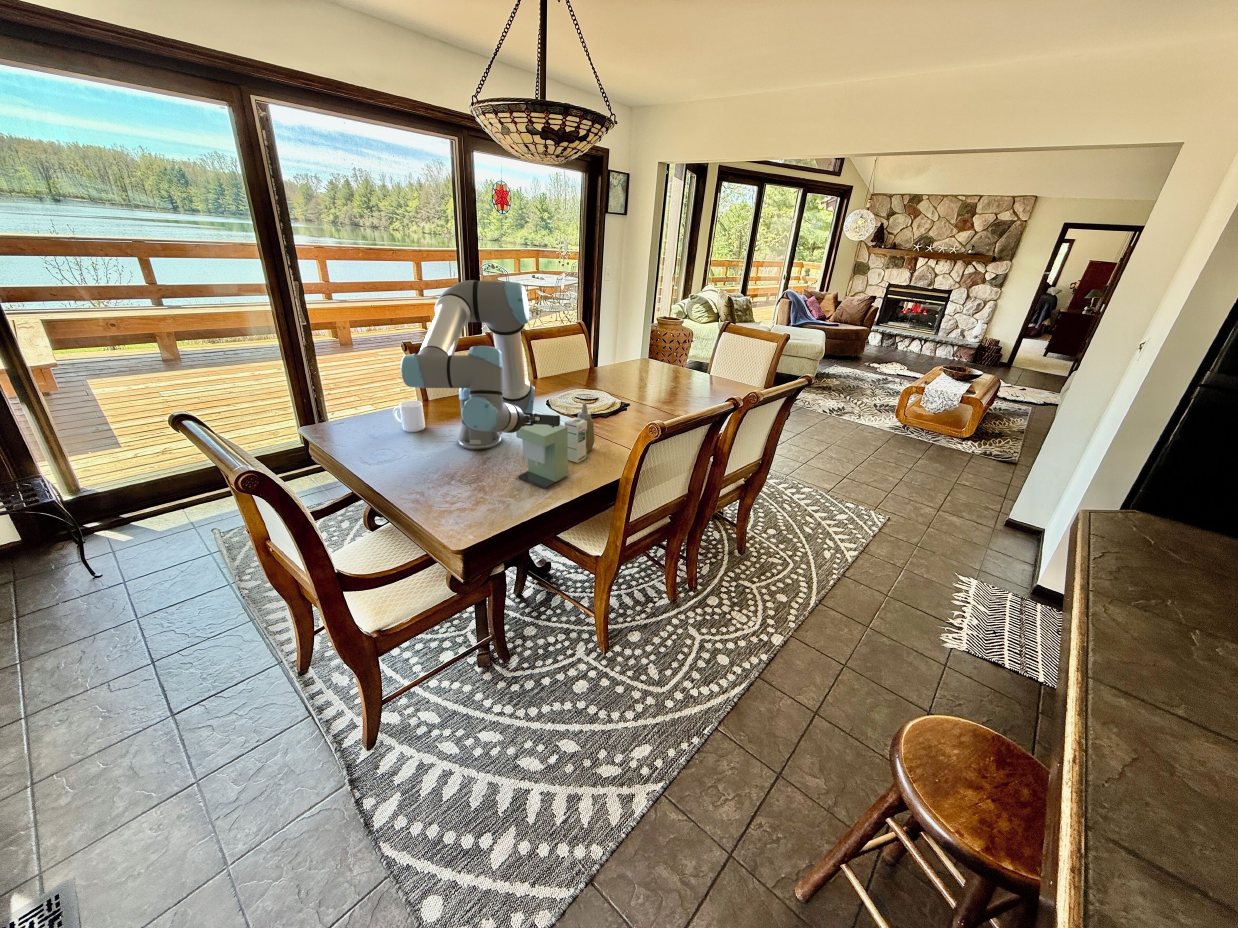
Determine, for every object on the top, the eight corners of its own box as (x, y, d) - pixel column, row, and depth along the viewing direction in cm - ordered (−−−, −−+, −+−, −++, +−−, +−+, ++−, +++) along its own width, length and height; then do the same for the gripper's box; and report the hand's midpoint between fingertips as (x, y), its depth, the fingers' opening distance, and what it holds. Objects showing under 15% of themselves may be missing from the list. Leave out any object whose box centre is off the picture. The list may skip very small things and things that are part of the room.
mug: (389, 430, 187) (385, 405, 183) (400, 423, 194) (396, 399, 190) (419, 433, 186) (415, 408, 182) (429, 425, 194) (425, 401, 189)
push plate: (543, 464, 148) (543, 446, 146) (522, 456, 153) (522, 438, 150) (545, 463, 149) (545, 445, 146) (524, 455, 153) (524, 438, 151)
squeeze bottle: (591, 455, 175) (592, 408, 167) (570, 452, 176) (570, 405, 169) (596, 446, 182) (598, 401, 175) (576, 444, 184) (576, 399, 176)
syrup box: (577, 463, 168) (578, 424, 162) (564, 459, 171) (564, 420, 165) (587, 458, 173) (587, 420, 166) (574, 453, 175) (574, 416, 169)
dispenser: (545, 489, 150) (544, 436, 142) (518, 478, 156) (515, 426, 148) (567, 477, 158) (567, 426, 150) (540, 467, 164) (539, 418, 156)
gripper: (460, 432, 124) (497, 435, 145) (551, 432, 119) (576, 434, 140) (459, 403, 124) (497, 410, 145) (551, 402, 119) (576, 408, 140)
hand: (536, 422), depth 143 cm, fingers open, 13 cm apart
